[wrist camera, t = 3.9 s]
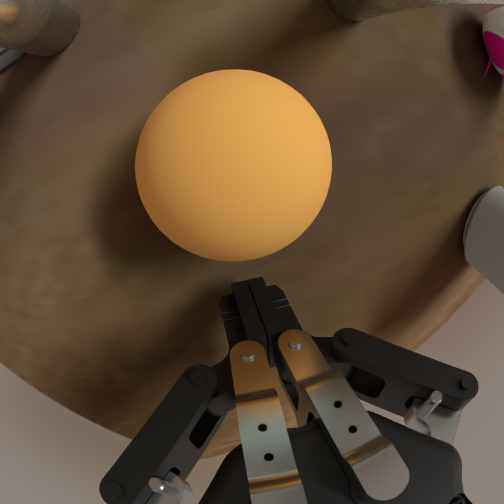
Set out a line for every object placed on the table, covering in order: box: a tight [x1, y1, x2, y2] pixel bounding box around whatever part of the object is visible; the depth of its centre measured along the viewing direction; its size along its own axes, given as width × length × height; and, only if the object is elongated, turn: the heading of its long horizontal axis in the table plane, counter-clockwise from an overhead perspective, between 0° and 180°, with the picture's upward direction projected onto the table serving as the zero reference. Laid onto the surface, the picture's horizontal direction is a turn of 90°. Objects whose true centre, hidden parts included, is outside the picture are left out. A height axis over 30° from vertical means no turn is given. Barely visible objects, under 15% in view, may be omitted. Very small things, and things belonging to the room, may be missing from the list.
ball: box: [135, 69, 332, 261], centre depth 8 cm, size 6×6×6 cm
